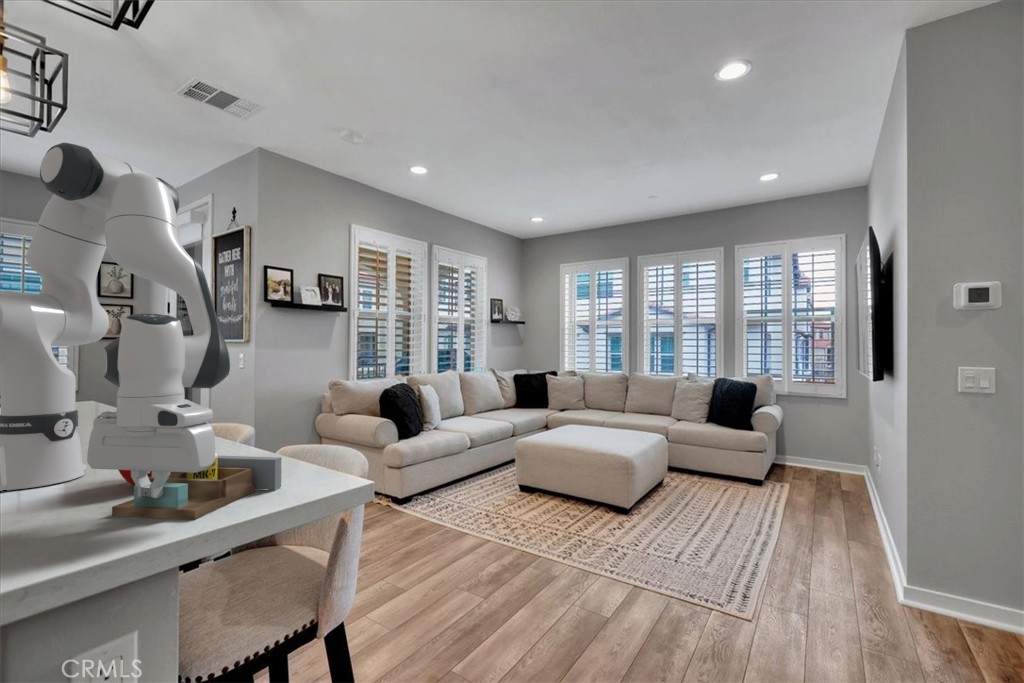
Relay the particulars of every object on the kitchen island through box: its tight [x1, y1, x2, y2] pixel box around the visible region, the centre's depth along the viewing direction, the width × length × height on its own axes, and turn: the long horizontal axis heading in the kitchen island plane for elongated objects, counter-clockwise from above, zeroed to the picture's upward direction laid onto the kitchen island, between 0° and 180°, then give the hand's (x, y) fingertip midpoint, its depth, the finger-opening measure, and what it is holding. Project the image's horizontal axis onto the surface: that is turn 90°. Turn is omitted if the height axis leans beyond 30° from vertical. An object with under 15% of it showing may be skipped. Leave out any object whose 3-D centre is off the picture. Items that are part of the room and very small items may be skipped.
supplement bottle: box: [187, 443, 219, 479], centre depth 88 cm, size 5×5×8 cm
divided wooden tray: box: [111, 467, 256, 521], centre depth 85 cm, size 15×15×5 cm
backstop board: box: [218, 455, 282, 491], centre depth 94 cm, size 20×2×6 cm, turn 84°
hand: (150, 496), depth 77 cm, fingers closed
